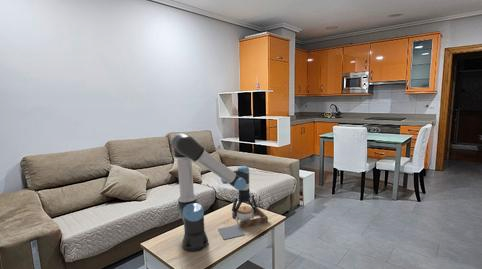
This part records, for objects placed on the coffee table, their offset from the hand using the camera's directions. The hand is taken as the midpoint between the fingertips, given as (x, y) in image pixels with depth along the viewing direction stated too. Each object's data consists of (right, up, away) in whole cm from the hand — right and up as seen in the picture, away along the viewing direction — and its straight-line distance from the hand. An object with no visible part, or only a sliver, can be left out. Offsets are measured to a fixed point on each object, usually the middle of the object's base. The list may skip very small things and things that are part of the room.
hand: (244, 219), depth 187 cm
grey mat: (-9, -4, -15) cm, 18 cm away
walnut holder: (+4, -1, +2) cm, 4 cm away
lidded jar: (0, -1, 0) cm, 1 cm away
